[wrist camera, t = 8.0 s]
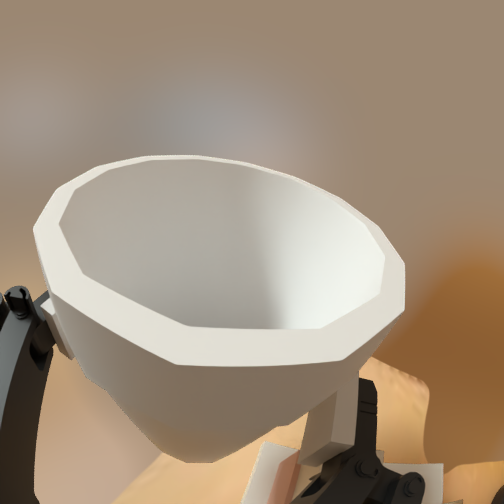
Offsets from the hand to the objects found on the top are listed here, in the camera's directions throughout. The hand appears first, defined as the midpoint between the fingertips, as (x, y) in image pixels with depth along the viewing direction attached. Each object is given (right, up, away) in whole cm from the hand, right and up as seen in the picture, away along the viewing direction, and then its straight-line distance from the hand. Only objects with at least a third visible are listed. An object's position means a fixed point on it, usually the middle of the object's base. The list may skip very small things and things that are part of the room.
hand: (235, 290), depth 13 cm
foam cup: (-3, -8, +1) cm, 8 cm away
